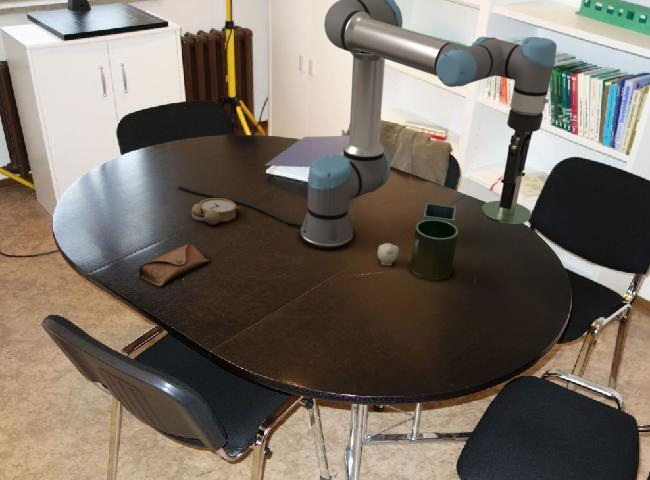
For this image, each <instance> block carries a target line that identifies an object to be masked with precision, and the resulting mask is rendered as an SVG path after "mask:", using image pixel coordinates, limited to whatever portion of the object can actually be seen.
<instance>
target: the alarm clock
mask: <svg viewBox="0 0 650 480" xmlns="http://www.w3.org/2000/svg"><path fill="white" fill-rule="evenodd" d="M237 210H240V207H239V206H237V203H236V202H232V201H230V200H227V199H222V198H214V197H210V198H209V197H208V198H205V199H203V200H200V201H199V202H198V203H195V204H194V205H192V208H191V211H190V214H191V217H192V219H194V220H196V221H200V222H201V221H202V222H206V223H207V224H208V225H211V226H215V225H218V224H219V223H220V222H229V221H231V220H233V219H235V218H236V216H237Z"/></svg>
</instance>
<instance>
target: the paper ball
mask: <svg viewBox="0 0 650 480" xmlns="http://www.w3.org/2000/svg"><path fill="white" fill-rule="evenodd" d="M377 248H378V250H377V258H378V260H379V261H380V262H381V266H392V264H393V263H394V262H395V261H396V260H397V259H398V256H399V252H400V248H399V246H398V245H395V244H392V243H390V242H385V243H383V244H379V246H378V247H377Z"/></svg>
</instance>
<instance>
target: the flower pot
mask: <svg viewBox="0 0 650 480" xmlns="http://www.w3.org/2000/svg"><path fill="white" fill-rule="evenodd" d="M456 210H457V208H456V207H455V206H449V205H443V204H437V203H429V202H428V203H426V204H425V207H424V213H423V220H429V219H436V220H443V221H446V222H449V223H451V224H453V225H454V223H455V216H456V212H457V211H456Z"/></svg>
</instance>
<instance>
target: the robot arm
mask: <svg viewBox="0 0 650 480" xmlns="http://www.w3.org/2000/svg"><path fill="white" fill-rule="evenodd" d="M323 23H324V24H323V26H324V32H325V35H326V38H327V39H328V41H330V43H331V44H332V45H333V46H335V47H336V48H339V49H341V50H343V51H346V52H349V53H350V54H351V55H352V70H351V71H352V72H351V73H352V75H351V94H350V95H351V96H350V114H349V115H350V117H349V135H348V137H349V138H348V139H349V140H348V142H347V143H346V144H344V146H343V153H342V154H343V155H336V154H335V155H334V154H332V155H325V156H324V155H323V156H321V157H318V158H316V159H315V160H314V161H312V163H311V164H310V166H309V169H308V177H307V213H306V216H305V218H304V220H303V222H302V223H301V222H298V221H291V220H288V219H285V218H284V217H281V216H280V215H277V214H275V213H274V212H271V211H269V210H267V209H264V208H263V207H260V206H257V205H255V204H252V203H249V202H247V201H243V200H239V199H236V198H233V197H232V198H231V197H228V196H222V195H218V194H214V193H209V192H204V191H199V190H196V189H192V188H189V187H186V186H182V185H179V186H178V189H180V190H182V191H187V192H189V193H193V194H197V195H201V196H205V197H208V198H209V197H210V198H222V199H227V200H230V201H232V202H234V203H235V204H240V205H244V206H247V207H250V208H252V209H255V210H258V211H260V212H261V213H264V214H266V215H268V216H271V217H273V218H274V219H276V220H279V221H281V222H283V223H285V224H288V225H293V226H297V227H301V228H300V240H301V241H302V242H303V243H304V244H305V245H307V246H309V247H310V248H313V249H318V250H325V251H326V250H327V251H328V250H329V251H330V250H331V251H332V250H338V249H339V250H340V249H342V248H345V247H347V246H349V245H350V244H351V243H352V242H353V237H354V235H353V234H354V231H353V228H352V226H353V221H354V220H352V219H350V217H349V203H350V201H352V200H353V199H356V198H359V197H361V196H363V195H366V194H368V193H372V192H373V193H374V192H375V191H377V190H378V189H380V188H382V187H383V186H385V185H386V183H388V180H389V179H390V175H391V163H390V162H391V161H390V160H388V158H389V156H388V155H387V154H386V153H385V149H384V146H382V145H381V144H380V137H381V136H380V135H381V123H382V122H381V120H382V109H383V93H384V81H385V65H386V60H388V61H390V62H394V63H396V64H399V65H402V66H405V67H408V68H411V69H415V70H418V71H421V72H423V73H427V74H430V75H433V76H435V77H437V79H438V80H439V81H440V82H441V83H442V84H443V85H444V86H446V87H449V88H456V87H464V86H466V85H469V84H472V83H474V82H478V81H481V80H484V79H489V78H492V77H494V76H495V77H500V78H504V79H508V80H512V81H514V86H513V90H512V93H511V94H512V95H511V99H510V108H511V109H509V111H508V117H507V122H506V124H507V126H508V128H510V129H512V130H513V131H514V133H513V134H512V135H511V137H510V140H509V141H510V143H509V144H508V146H507V148H508V149H507V156H506V161H505V166H504V172H503V177H502V179H501V180H500V183H502V184H503V183H504V186H503V185H502V188H503V191H502V190H501V193H502V197H501V196H500V198H501V202H500V207H501V208H506V209H511V207H512V202H513V197H514V192H515V187H516V184H515V183H516V177H517V173H518V171H519V172H521V173H522V178H523V177H525V176H526V172H524V171H525V169H526V167H525V166H526V163H527V162H526V161H527V159H528V158H527V157H528V153H529V149H530V145H531V144H530V143H531V140H532V136H533V134H534V132H537V131H539V130H540V129H541V126H542V121H543V116H544V114H543V112H544V111H545V107H546V104H548V103H549V102H550V100H549V98H547V97H548V92H549V88H550V83H551V79H552V75H553V70H554V67H555V64H556V61H555V60H556V54H557V48H558V46H557V43H556V42H555V41H554V40H553V39H551V38H546V37H539V36H529V37H525V38H524V39H523V40H522V42H521V44H520V43H519V44H518V43H515V42H510V41H506V40H502V39H498V38H496V37H494V36H493V37H488V36H480V37H477V38H476V40H475V41H474V42H472V44H471V45H469V46H465V45H460V44H457V43H453V42H451V41H447V40H444V39H441V38H437V37H434V36H430V35H427V34H424V33H421V32H417V31H415V30H410V29H407V28H403V15H402V10H401V8H400V7H399V5H398V4H397V2H396V1H395V0H336V2H334V3H333V4H332V5H331V6H330V7H329V8H328V10H327V12H326V14H325V17H324V22H323Z"/></svg>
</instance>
